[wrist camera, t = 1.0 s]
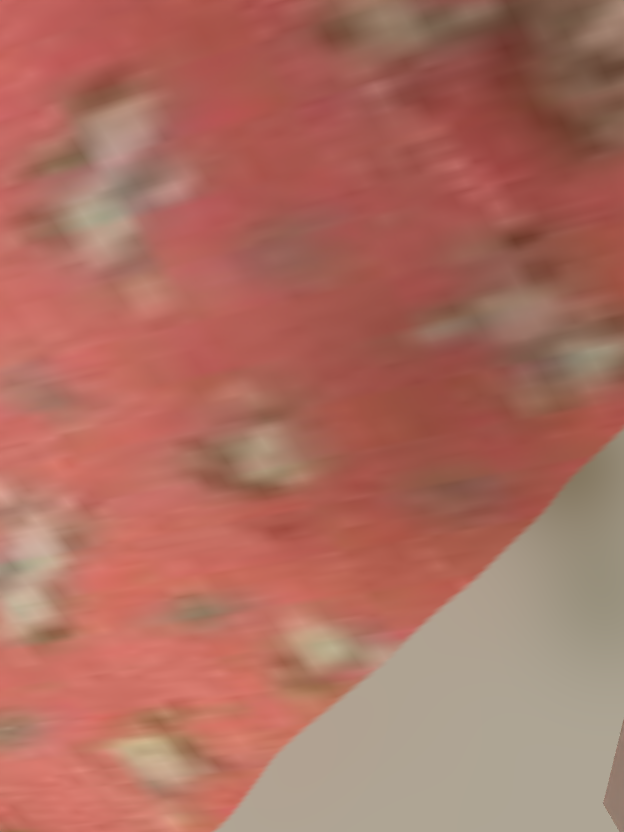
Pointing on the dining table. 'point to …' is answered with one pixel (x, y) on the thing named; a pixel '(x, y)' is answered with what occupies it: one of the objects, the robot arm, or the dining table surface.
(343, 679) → the dining table surface
